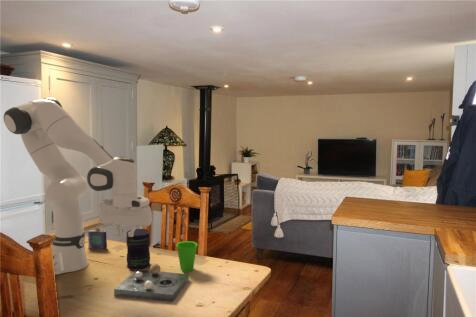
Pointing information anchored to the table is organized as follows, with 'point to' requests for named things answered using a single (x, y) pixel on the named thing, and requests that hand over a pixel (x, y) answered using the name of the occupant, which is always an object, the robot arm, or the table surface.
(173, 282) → the plate
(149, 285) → the plastic ball
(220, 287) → the table surface
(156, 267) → the wood ball
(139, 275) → the steel ball
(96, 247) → the flask
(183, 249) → the cup
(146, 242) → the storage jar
